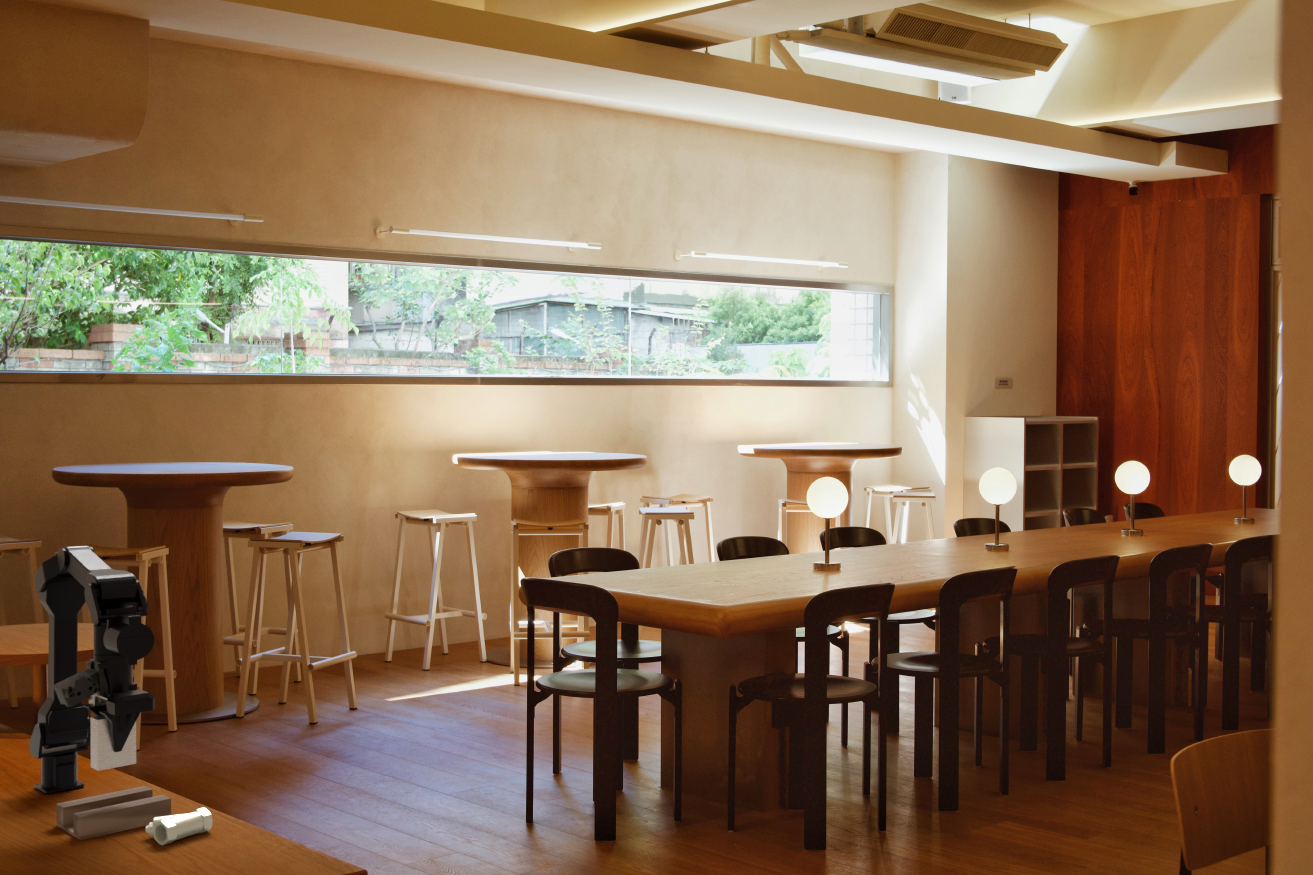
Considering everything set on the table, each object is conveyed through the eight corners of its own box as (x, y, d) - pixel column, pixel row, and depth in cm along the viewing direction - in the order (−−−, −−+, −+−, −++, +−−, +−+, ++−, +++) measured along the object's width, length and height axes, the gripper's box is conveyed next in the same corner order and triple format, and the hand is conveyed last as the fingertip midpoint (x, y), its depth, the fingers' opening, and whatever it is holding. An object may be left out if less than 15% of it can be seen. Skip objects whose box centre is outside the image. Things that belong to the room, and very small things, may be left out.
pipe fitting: (140, 843, 185) (168, 847, 182) (139, 817, 185) (167, 821, 182) (185, 829, 192) (213, 832, 188) (184, 804, 192) (211, 807, 189)
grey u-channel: (56, 825, 192) (56, 803, 192) (145, 806, 202) (145, 785, 202) (80, 840, 185) (80, 817, 185) (171, 819, 195) (171, 798, 195)
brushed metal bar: (90, 767, 193) (90, 716, 193) (129, 760, 197) (128, 710, 197) (97, 770, 191) (97, 719, 191) (136, 763, 195) (136, 713, 195)
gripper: (39, 651, 195) (40, 748, 195) (81, 666, 182) (82, 770, 181) (110, 643, 203) (111, 736, 203) (156, 656, 189) (156, 756, 189)
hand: (113, 749), depth 194 cm, fingers closed on brushed metal bar, 3 cm apart
